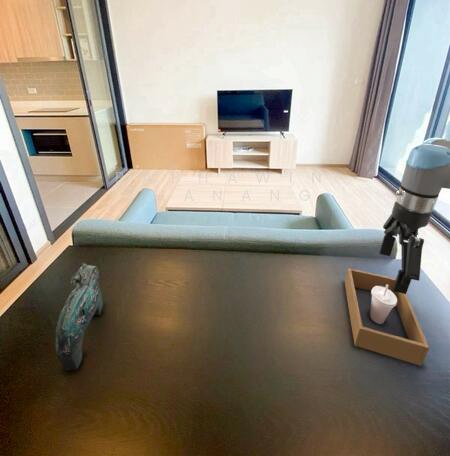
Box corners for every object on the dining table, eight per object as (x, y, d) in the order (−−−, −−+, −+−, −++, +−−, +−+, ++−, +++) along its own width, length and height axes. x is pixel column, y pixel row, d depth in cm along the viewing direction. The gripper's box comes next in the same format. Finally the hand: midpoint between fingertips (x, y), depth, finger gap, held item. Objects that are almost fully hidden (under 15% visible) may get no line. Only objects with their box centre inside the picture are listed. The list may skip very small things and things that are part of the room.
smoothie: (362, 318, 75) (372, 284, 70) (368, 304, 79) (378, 271, 74) (386, 333, 70) (399, 298, 66) (391, 317, 75) (403, 283, 70)
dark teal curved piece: (91, 302, 79) (78, 253, 72) (111, 300, 80) (100, 252, 73) (57, 374, 61) (35, 319, 54) (84, 372, 61) (66, 316, 54)
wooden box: (395, 295, 82) (400, 279, 80) (421, 366, 63) (429, 348, 60) (344, 283, 87) (348, 267, 84) (354, 345, 67) (359, 328, 65)
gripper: (382, 181, 73) (366, 239, 80) (414, 233, 50) (388, 306, 58) (412, 185, 71) (393, 244, 78) (459, 242, 48) (426, 316, 56)
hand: (391, 271), depth 68 cm, fingers open, 13 cm apart
